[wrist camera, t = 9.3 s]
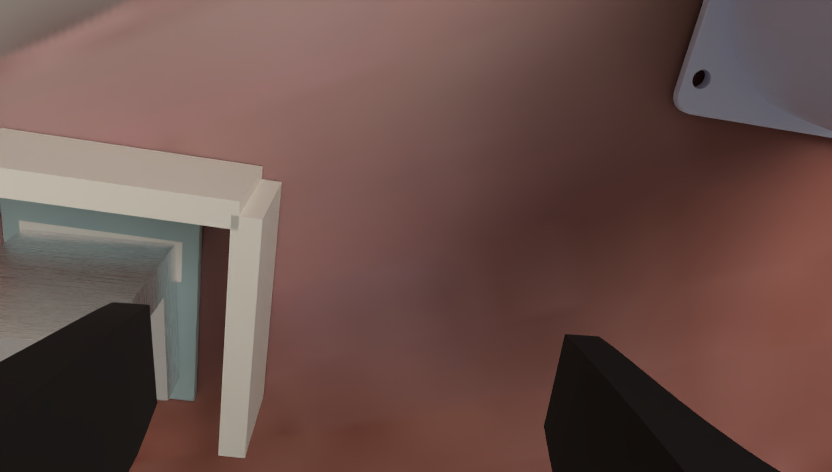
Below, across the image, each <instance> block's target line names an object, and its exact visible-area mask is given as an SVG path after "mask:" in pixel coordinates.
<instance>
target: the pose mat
mask: <svg viewBox="0 0 832 472" xmlns="http://www.w3.org/2000/svg"><path fill="white" fill-rule="evenodd" d="M0 207H1V217H2V227H3V237H4V243H5V242H6V241H7V240H9V239H10V238H11V237H13V236H14V235H16V234H17V233H18V232H20V231H21V230H22V229H25V230H36V231H46V232H56V233H66V234H76V235H86V236H96V237H106V238H117V239H127V240H137V241H147V242H157V243H167V244H175V248H176V279H177V311H178V343H179V374H180V378H179V380H178V382H177V384H176V386H175V388H174V390H173V392H172V394H171V395H170V397H169V398H170V399H179V400H188V401H194V400H195V398H196V396H197V367H198V338H199V308H200V279H201V249H202V225H196V224H189V223H181V222H174V221H167V220H160V219H152V218H145V217H138V216H131V215H123V214H116V213H109V212H101V211H94V210H87V209H80V208H72V207H65V206H58V205H51V204H43V203H36V202H29V201H22V200H14V199H7V198H0Z"/></svg>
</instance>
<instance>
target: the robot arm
mask: <svg viewBox="0 0 832 472" xmlns="http://www.w3.org/2000/svg"><path fill="white" fill-rule="evenodd" d="M700 70H703V71H704V73H705V78H704V80H703V82H702V83H701V84H699V85H698V86H694V85H693V83H692V79H693V76H694V75H695V73H696V72H698V71H700ZM673 101H674V105H675V106H676V107H677V108H678V109H679V110H680V111H682V112H684V113H687V114H690V115H696V116H702V117H708V118H714V119H720V120H726V121H732V122H738V123H744V124H750V125H757V126H763V127H769V128H775V129H781V130H787V131H793V132H799V133H805V134H811V135H817V136H823V137H829V138H832V0H704V1H703V4H702V7H701V10H700V13H699V16H698V19H697V22H696V25H695V28H694V32H693V35H692V38H691V41H690V44H689V47H688V50H687V53H686V56H685V59H684V62H683V65H682V68H681V71H680V75H679V78H678V81H677V84H676V87H675V90H674V94H673ZM156 405H157V395H156V382H155V369H154V356H153V343H152V330H151V317H150V305H146V304H132V303H118V302H112V303H110V304H107V305H105V306H103V307H101V308H99V309H97V310H95V311H93V312H91V313H89V314H87V315H85V316H83V317H81V318H80V319H78V320H76V321H74V322H72V323H70V324H69V325H67V326H65V327H63V328H61V329H60V330H58V331H56V332H54V333H52V334H50V335H49V336H47V337H45V338H43V339H41V340H39V341H37V342H36V343H34V344H32V345H30V346H28V347H26V348H25V349H23V350H21V351H19V352H17V353H15V354H13V355H12V356H10V357H8V358H6V359H4V360H2V361H0V472H128V471H129V469H130V468H131V466H132V464H133V462H134V460H135V458H136V456H137V454H138V451H139V449H140V447H141V444H142V442H143V439H144V437H145V434H146V432H147V429H148V426H149V423H150V421H151V418H152V415H153V413H154V410H155V407H156ZM544 429H545V435H546V440H547V446H548V452H549V457H550V462H551V467H552V472H780V471H778V470H777V469H775V468H773V467H772V466H770V465H769V464H767V463H765V462H764V461H762V460H761V459H759V458H758V457H756V456H755V455H753V454H752V453H750V452H749V451H747V450H746V449H744V448H743V447H741V446H740V445H739V444H737V443H736V442H734V441H733V440H732V439H730V438H729V437H727V436H726V435H725V434H723V433H722V432H721V431H719V430H718V429H716V428H715V427H714V426H712V425H711V424H709V423H708V422H707V421H705V420H704V419H703V418H701V417H700V416H699V415H698V414H696V413H695V412H694V411H692V410H691V409H690V408H688V407H687V406H686V405H685V404H683V403H682V402H681V401H679V400H678V399H677V398H676V397H674V396H673V395H672V394H671V393H669V392H668V391H667V390H666V389H664V388H663V387H662V386H661V385H659V384H658V383H657V382H656V381H655V380H653V379H652V378H651V377H650V376H648V375H647V374H646V373H645V372H644V371H642V370H641V369H640V368H639V367H637V366H636V365H635V364H634V363H633V362H631V361H630V360H629V359H628V358H626V357H625V356H624V355H623V354H621V353H620V352H619V351H618V350H616V349H615V348H614V347H613V346H611V345H610V344H609V343H607V342H606V341H604V340H603V339H601V338H600V337H597V336H583V335H569V334H565V337H564V341H563V345H562V350H561V354H560V359H559V363H558V367H557V372H556V376H555V381H554V385H553V389H552V394H551V398H550V402H549V407H548V411H547V416H546V420H545V424H544Z"/></svg>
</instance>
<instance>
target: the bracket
mask: <svg viewBox="0 0 832 472" xmlns="http://www.w3.org/2000/svg"><path fill="white" fill-rule="evenodd" d="M112 302H118V303H132V304H146V305H150V317H151V330H152V343H153V356H154V369H155V382H156V395H157V400H166V401H168V399H169V397H170V395H171V394H172V392H173V390H174V388H175V386H176V384H177V382H178V380H179V378H180V374H179V343H178V311H177V279H176V248H175V244H167V243H157V242H147V241H137V240H127V239H117V238H106V237H96V236H86V235H76V234H66V233H56V232H46V231H36V230H25V229H22V230H21V231H20V232H18V233H17V234H16V235H14V236H13V237H11V238H10V239H9V240H7V241H6V242H5V243H3V244H2V245H0V361H2V360H4V359H6V358H8V357H10V356H12V355H13V354H15V353H17V352H19V351H21V350H23V349H25V348H26V347H28V346H30V345H32V344H34V343H36V342H37V341H39V340H41V339H43V338H45V337H47V336H49V335H50V334H52V333H54V332H56V331H58V330H60V329H61V328H63V327H65V326H67V325H69V324H70V323H72V322H74V321H76V320H78V319H80V318H81V317H83V316H85V315H87V314H89V313H91V312H93V311H95V310H97V309H99V308H101V307H103V306H105V305H107V304H110V303H112Z"/></svg>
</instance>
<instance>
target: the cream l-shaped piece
mask: <svg viewBox="0 0 832 472" xmlns="http://www.w3.org/2000/svg"><path fill="white" fill-rule="evenodd" d="M262 169H263V166H257V165H250V164H243V163H236V162H229V161H223V160H216V159H209V158H202V157H195V156H189V155H182V154H175V153H168V152H162V151H155V150H148V149H141V148H134V147H128V146H121V145H114V144H107V143H101V142H94V141H87V140H80V139H73V138H67V137H60V136H53V135H46V134H40V133H33V132H26V131H19V130H12V129H6V128H1V129H0V198H7V199H14V200H22V201H29V202H36V203H43V204H51V205H58V206H65V207H72V208H80V209H87V210H94V211H101V212H109V213H116V214H123V215H131V216H138V217H145V218H152V219H160V220H167V221H174V222H181V223H189V224H196V225H203V226H210V227H218V228H225V229H230V244H229V263H228V281H227V300H226V319H225V338H224V357H223V375H222V394H221V413H220V432H219V451H218V456H228V457H238V458H245V456H246V452H247V449H248V446H249V442H250V439H251V436H252V433H253V429H254V426H255V423H256V419H257V416H258V413H259V410H260V406H261V403H262V400H263V396H264V385H265V373H266V362H267V350H268V338H269V327H270V315H271V303H272V292H273V280H274V268H275V257H276V245H277V233H278V222H279V210H280V198H281V187H282V182H279V181H272V180H265V179H262Z"/></svg>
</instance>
